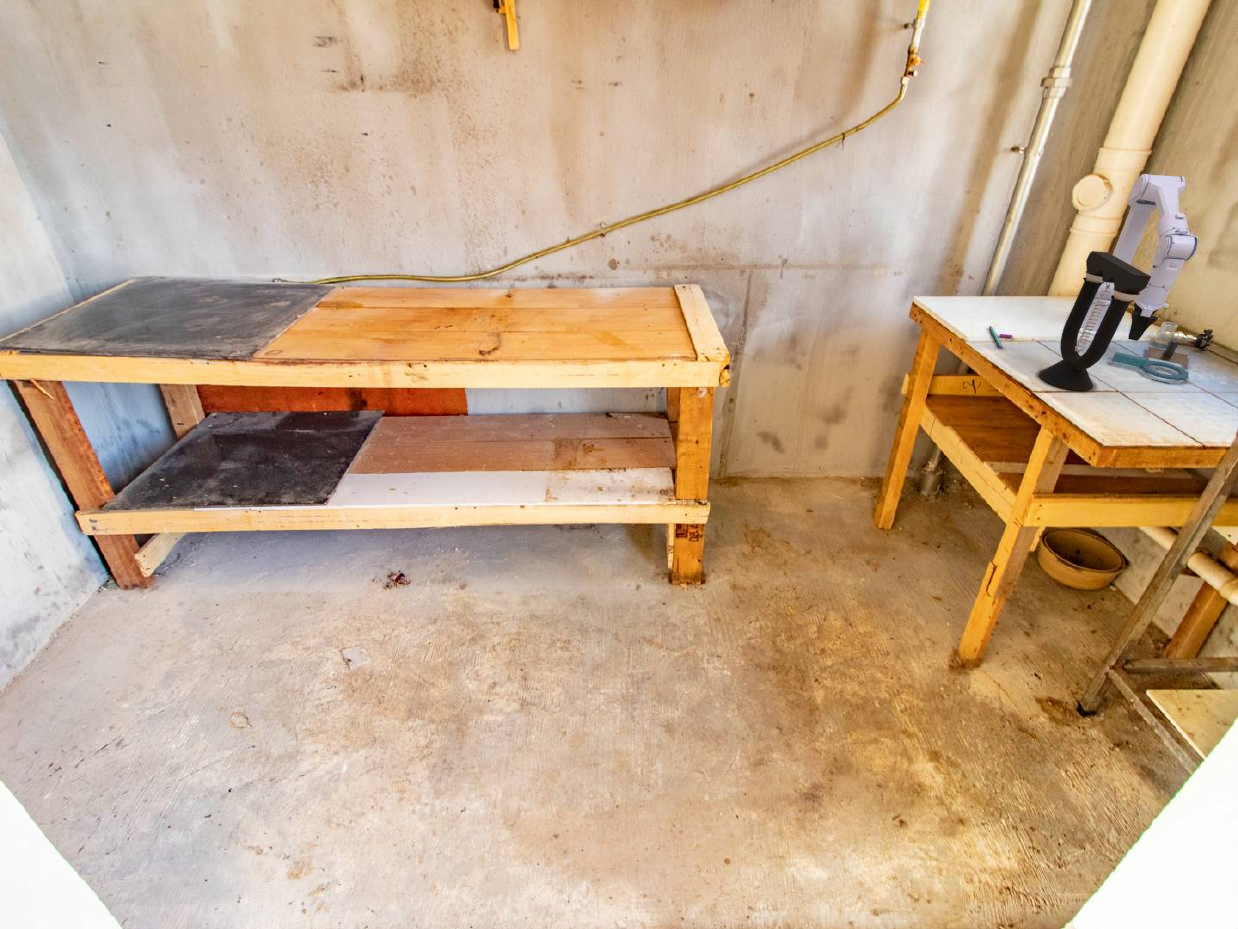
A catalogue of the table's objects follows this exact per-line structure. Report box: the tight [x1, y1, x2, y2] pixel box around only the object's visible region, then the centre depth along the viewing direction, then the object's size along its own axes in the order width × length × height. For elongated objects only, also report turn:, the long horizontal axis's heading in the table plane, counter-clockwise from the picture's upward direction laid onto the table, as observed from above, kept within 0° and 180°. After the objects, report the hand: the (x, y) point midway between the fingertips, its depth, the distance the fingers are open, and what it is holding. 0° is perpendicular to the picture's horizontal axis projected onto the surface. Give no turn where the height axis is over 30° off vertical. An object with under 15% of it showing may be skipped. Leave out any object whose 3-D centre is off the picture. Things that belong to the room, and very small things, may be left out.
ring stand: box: [1146, 340, 1188, 367], centre depth 178 cm, size 9×9×6 cm
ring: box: [1111, 351, 1190, 385], centre depth 172 cm, size 17×10×3 cm, turn 53°
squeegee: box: [988, 325, 1013, 349], centre depth 189 cm, size 15×1×5 cm
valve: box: [1153, 321, 1214, 352], centre depth 185 cm, size 7×7×12 cm
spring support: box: [1038, 250, 1151, 391], centre depth 160 cm, size 21×12×30 cm, turn 172°
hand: (1133, 335), depth 171 cm, fingers open, 7 cm apart
